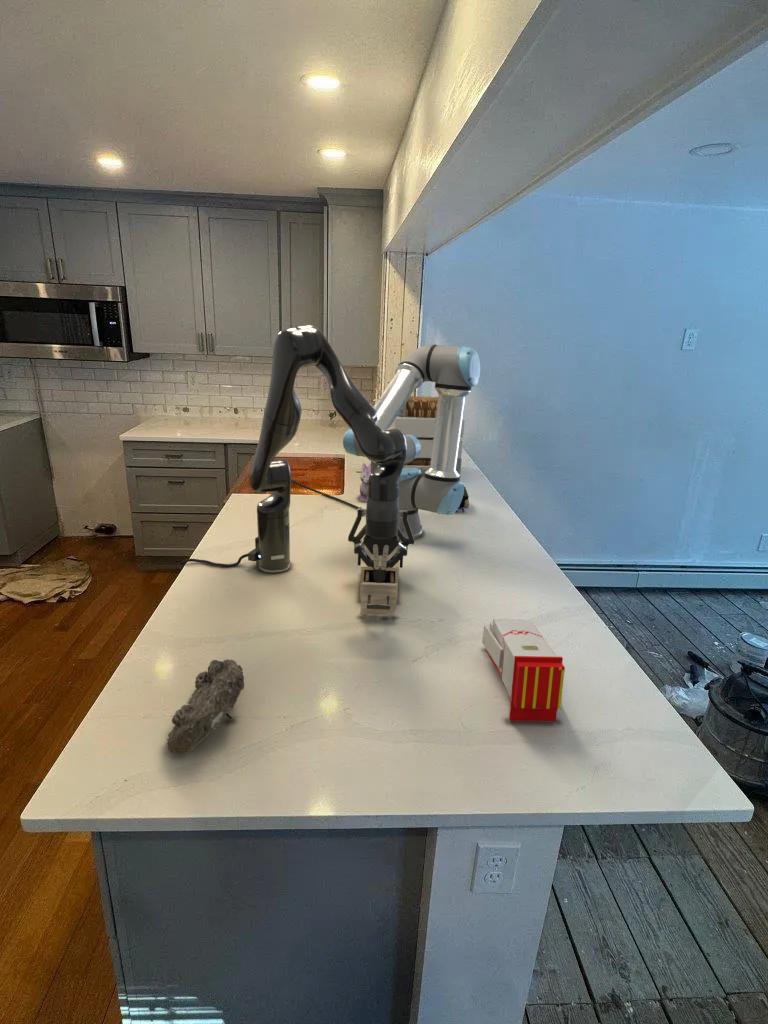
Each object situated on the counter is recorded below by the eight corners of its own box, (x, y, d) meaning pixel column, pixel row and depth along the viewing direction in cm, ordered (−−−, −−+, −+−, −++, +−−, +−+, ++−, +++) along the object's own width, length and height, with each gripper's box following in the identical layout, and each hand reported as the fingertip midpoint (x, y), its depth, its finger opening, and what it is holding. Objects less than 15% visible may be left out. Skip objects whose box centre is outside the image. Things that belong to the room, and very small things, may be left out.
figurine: (363, 503, 228) (365, 467, 223) (353, 496, 237) (354, 461, 232) (384, 501, 233) (386, 465, 227) (373, 493, 241) (374, 459, 236)
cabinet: (397, 603, 153) (399, 568, 149) (359, 601, 153) (361, 566, 149) (396, 576, 168) (398, 543, 165) (362, 574, 168) (363, 542, 165)
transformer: (382, 463, 289) (386, 382, 275) (445, 464, 293) (451, 384, 279) (390, 482, 257) (394, 392, 243) (460, 483, 261) (468, 394, 247)
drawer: (395, 627, 140) (397, 596, 137) (359, 625, 140) (360, 595, 137) (394, 588, 159) (396, 560, 156) (363, 586, 159) (364, 559, 156)
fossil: (192, 660, 117) (244, 628, 112) (224, 691, 120) (276, 661, 115) (142, 746, 98) (202, 712, 93) (182, 779, 101) (242, 748, 96)
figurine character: (469, 517, 223) (463, 501, 236) (471, 500, 219) (465, 484, 233) (452, 516, 222) (447, 500, 236) (454, 499, 219) (449, 483, 232)
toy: (529, 604, 135) (573, 663, 106) (524, 656, 138) (566, 727, 109) (478, 603, 135) (509, 662, 105) (474, 655, 137) (503, 727, 108)
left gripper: (352, 519, 128) (351, 587, 134) (411, 521, 128) (406, 590, 134) (354, 508, 135) (353, 573, 141) (410, 510, 135) (406, 576, 141)
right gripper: (338, 494, 151) (337, 568, 158) (427, 498, 151) (422, 572, 159) (341, 485, 158) (339, 557, 165) (425, 489, 158) (420, 560, 166)
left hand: (379, 581), depth 138 cm, fingers closed
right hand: (380, 564), depth 162 cm, fingers open, 11 cm apart
